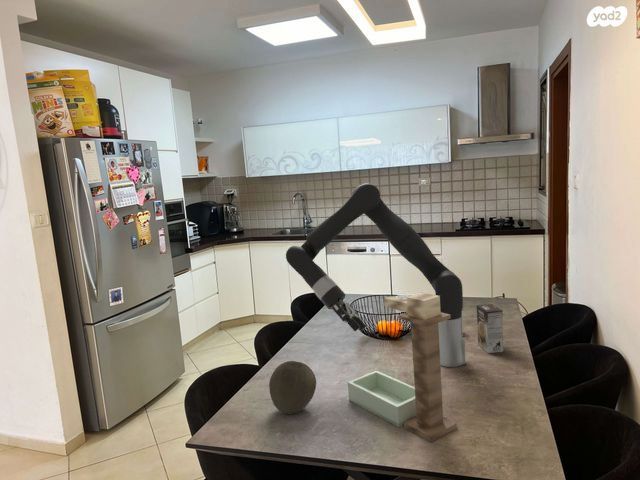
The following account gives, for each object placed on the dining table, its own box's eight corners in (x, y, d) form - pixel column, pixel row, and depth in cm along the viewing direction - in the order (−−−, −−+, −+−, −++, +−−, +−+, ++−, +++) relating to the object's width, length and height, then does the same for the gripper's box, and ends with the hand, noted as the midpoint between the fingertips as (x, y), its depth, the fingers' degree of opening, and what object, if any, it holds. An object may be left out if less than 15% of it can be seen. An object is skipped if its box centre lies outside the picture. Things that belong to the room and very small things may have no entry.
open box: (349, 400, 150) (347, 382, 149) (377, 387, 157) (376, 370, 156) (398, 427, 132) (397, 407, 131) (428, 412, 139) (427, 392, 138)
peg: (379, 307, 136) (378, 290, 135) (395, 303, 139) (394, 286, 139) (424, 319, 122) (423, 300, 121) (440, 314, 125) (439, 295, 125)
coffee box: (477, 345, 186) (475, 304, 184) (493, 343, 187) (492, 303, 184) (487, 353, 177) (486, 311, 175) (504, 351, 178) (503, 309, 175)
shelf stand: (404, 427, 132) (397, 315, 127) (428, 414, 138) (423, 307, 133) (431, 442, 124) (425, 323, 119) (456, 428, 129) (451, 314, 125)
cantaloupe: (300, 426, 137) (296, 376, 135) (262, 416, 145) (257, 369, 143) (326, 403, 149) (322, 358, 147) (289, 395, 156) (285, 352, 154)
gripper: (330, 283, 153) (364, 321, 148) (342, 285, 167) (373, 320, 162) (313, 299, 154) (347, 338, 149) (327, 300, 168) (357, 335, 163)
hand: (360, 328), depth 156 cm, fingers open, 8 cm apart
